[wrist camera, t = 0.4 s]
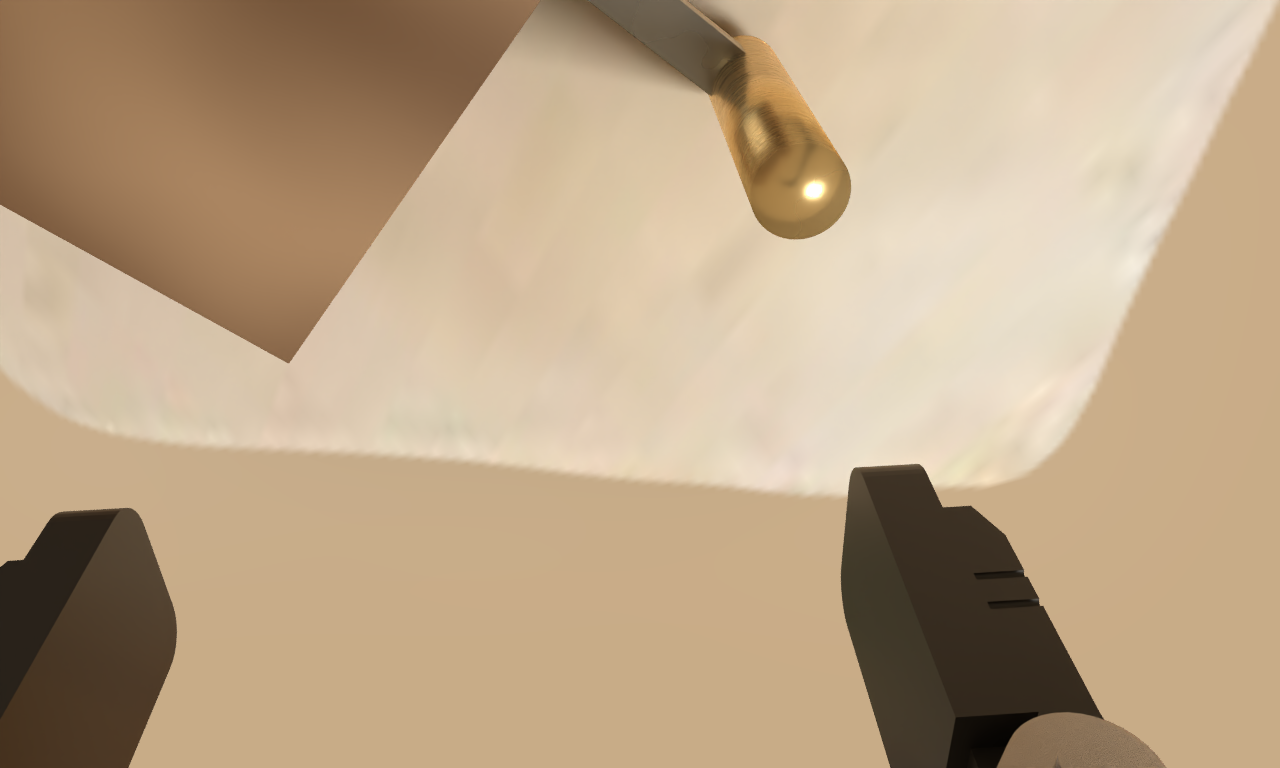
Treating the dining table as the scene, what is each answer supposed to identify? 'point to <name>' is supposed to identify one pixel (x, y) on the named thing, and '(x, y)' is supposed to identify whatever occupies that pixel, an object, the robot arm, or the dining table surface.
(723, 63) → the lever handle
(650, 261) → the dining table surface
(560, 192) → the dining table surface
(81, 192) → the brown wooden stool
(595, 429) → the dining table surface
